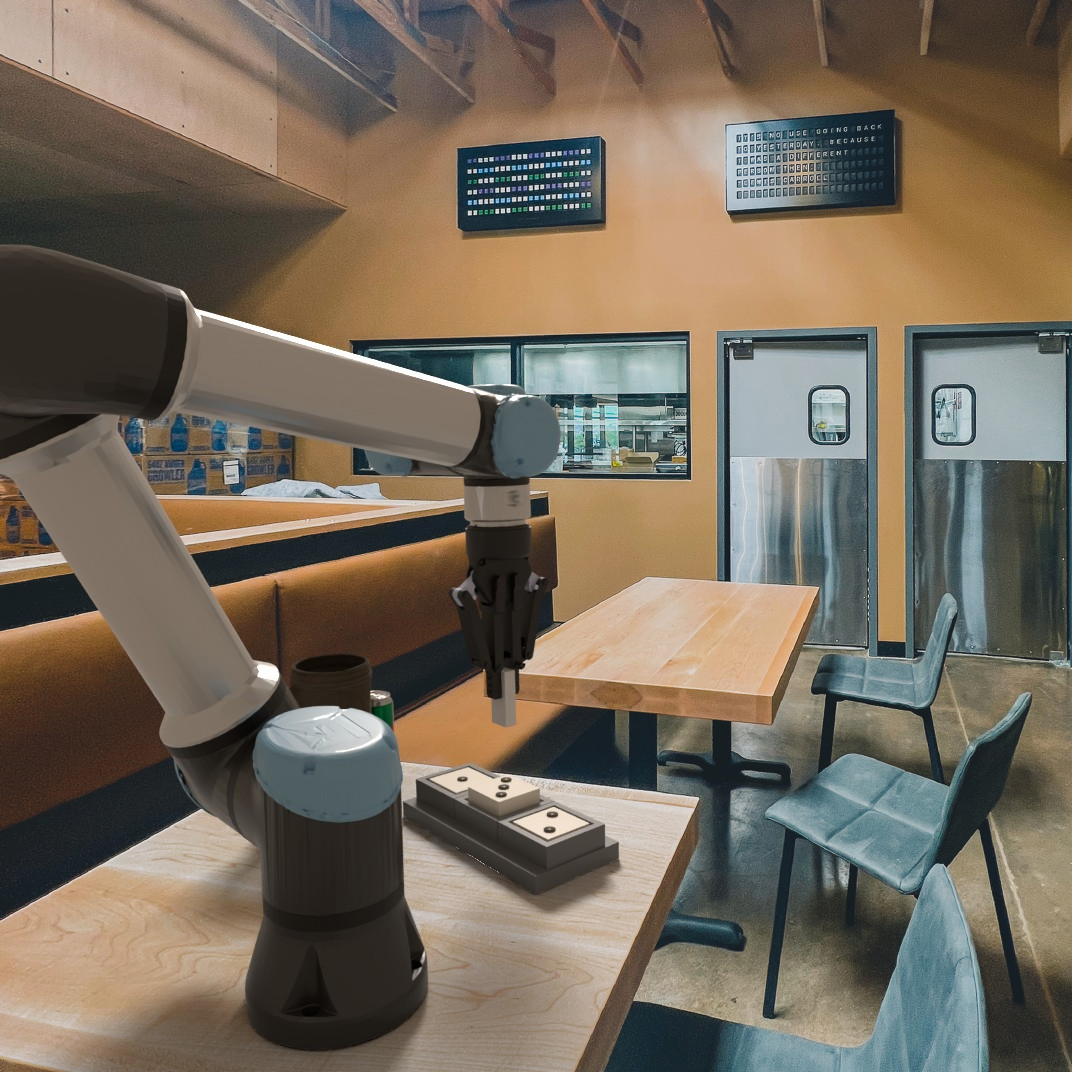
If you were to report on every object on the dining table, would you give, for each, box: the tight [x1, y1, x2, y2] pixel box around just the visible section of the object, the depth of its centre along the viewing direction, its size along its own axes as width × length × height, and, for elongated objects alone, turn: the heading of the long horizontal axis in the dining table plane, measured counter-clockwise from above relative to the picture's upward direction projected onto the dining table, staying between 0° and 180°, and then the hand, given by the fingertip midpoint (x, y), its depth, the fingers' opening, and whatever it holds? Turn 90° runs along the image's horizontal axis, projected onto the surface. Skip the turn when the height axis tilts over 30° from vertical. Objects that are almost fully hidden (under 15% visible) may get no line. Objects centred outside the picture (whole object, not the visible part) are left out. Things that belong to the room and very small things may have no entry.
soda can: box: [370, 690, 395, 733], centre depth 124 cm, size 5×5×12 cm
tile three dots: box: [468, 773, 541, 817], centre depth 105 cm, size 6×6×3 cm
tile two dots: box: [513, 807, 590, 842], centre depth 99 cm, size 6×6×3 cm
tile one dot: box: [429, 767, 493, 795], centre depth 112 cm, size 6×6×3 cm
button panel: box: [402, 762, 620, 896], centre depth 106 cm, size 12×26×4 cm, turn 39°
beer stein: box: [289, 653, 373, 714], centre depth 111 cm, size 15×11×20 cm
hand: (504, 723), depth 105 cm, fingers closed
